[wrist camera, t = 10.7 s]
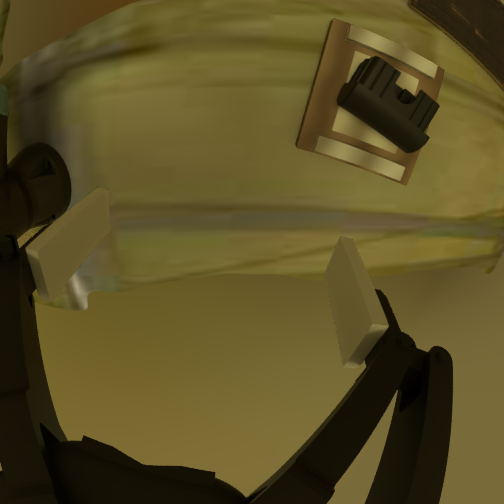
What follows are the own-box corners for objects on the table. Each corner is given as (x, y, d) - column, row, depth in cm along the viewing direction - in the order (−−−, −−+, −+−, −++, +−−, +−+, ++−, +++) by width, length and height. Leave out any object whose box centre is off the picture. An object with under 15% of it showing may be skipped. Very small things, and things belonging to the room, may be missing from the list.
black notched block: (330, 103, 30) (342, 105, 24) (358, 58, 26) (375, 51, 21) (394, 147, 32) (416, 160, 26) (420, 105, 28) (447, 110, 22)
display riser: (295, 144, 36) (297, 149, 32) (330, 22, 26) (335, 15, 23) (399, 180, 37) (410, 189, 33) (435, 70, 27) (450, 70, 24)
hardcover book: (508, 100, 26) (517, 101, 24) (404, 7, 23) (410, 3, 21) (527, 39, 18) (535, 39, 16) (430, -51, 15) (436, -55, 13)
